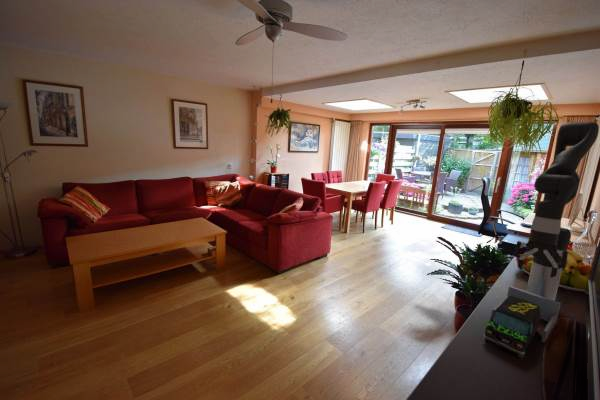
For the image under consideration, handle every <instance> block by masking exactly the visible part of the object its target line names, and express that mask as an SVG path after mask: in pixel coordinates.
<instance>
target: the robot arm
mask: <svg viewBox="0 0 600 400" xmlns="http://www.w3.org/2000/svg"><path fill="white" fill-rule="evenodd" d="M599 130H600V126H599V124H598V122H595V121H576V122H565V123H562V124H561V125H560V126H559V128H558V131H557V135H556V136H557V137H556V141H555V147H554V154H553V159H552V162H551V164H550V165H549V166H548V168H547V169H546V170H545V171H543V172H542V173H541V174H539V175H538V176H537V178H536V180H535V181H534V189H535V191H536V192H537V193H539V194H543V195H544V196H543V199H542V200H540V201H539V202H537V204H536V208H535V213H534V218H533V220H532V224H531V226H530V232H529V237H528V241H527V242H523V241H521V240H518V241H516V244H515V248H514V252H513V257H514V258H516V259H518V261H517V269H519V270H520V271H522V270H523V267H524V259H526V258H528V257H531V256H532V257H533V258H532V262H531V267H530V271H529V277H528V282H527V286H526V290H525V291H527V292H530V293H533V294H536V295H539V296H542V297H545V298H548V299H550V300H553V301H556V298H557V293H558V288H559V286H560V285H559V284H560V279H561V275H562V272H563V269H566V268H567V261H568V254H569V253H568V248H569V245H570V241H571V237H572V232H571V230H570V229H569V228H565V227H562V226H561V225H562V218H563V213H564V210H565V207H566V205H568V204H569V203H570V202H572V201H573V200H574V199H575V197H576V196H577V193H578V189H579V185H580V182H581V181H580V180H581V179H580V177H579V175H578V172H577V169H578V167H579V165H580V163H581V161H582V159H583V158H584V157H585V156H586V154H588V152H589V151H590V150H591V148H592V147H593V146H594V144H595V142H596V141H597V138H598V136H599V132H600V131H599ZM567 147H568V148H567ZM524 247H525V248H526V249H527V250H526V251H525V252H524V253H522V254H519V252H520V249H523V248H524Z"/></svg>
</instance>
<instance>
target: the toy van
mask: <svg viewBox="0 0 600 400" xmlns="http://www.w3.org/2000/svg"><path fill="white" fill-rule="evenodd" d="M540 321H541V318H540V307H539V305H536V304H534V303H531V302H529V301H526V300H523V299H520V298H517V297H514V296H509V297H508V298H507V299H505V300H504V302H503V303H502V304H501V305H500V306H499V307H498V309H497V310H496V311H495V313H494V315H493V316H492V318H491V317H490V320H489V322H488V323H487V324H486V327H485V330H484V331H485V332H484V334H483V338H484V340H485V342H490V341H491V342H493V344H496V345H497V346H500V347H502V348H504V349H506V350H508V351H511V352H513V353H516V354H517V356H518V357H519V358H521V359H524V358H525V357H526V351H527V348H528V347H529V345H530V344H531V342H532V341H533V338H534V337H535V335H536V333H537V330H538V328H539V327H540Z"/></svg>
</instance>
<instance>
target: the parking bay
mask: <svg viewBox="0 0 600 400" xmlns="http://www.w3.org/2000/svg"><path fill="white" fill-rule="evenodd" d="M509 296H514V297H517V298H520V299H523V300H526V301H529V302H531V303H534V304H536V305H539V307H540V320H541V319H542V320H544V321H545V322H546V321H547V322H548V323H547V324H546V326H545V328H544V329H543V332H542V337H541V340H540V341H541V342H542V343H545V342H546V341H547V339H548V337H549V336H550V334H551V332H552V331H551V329H552V327H553V326H554V327H555V325H556V324H557V320H558V316H559V312H560V309H561V304H562V303H561V302H559V301H556V300H555V301H553V300H550V299H548V298H545V297H542V296H539V295H536V294H533V293H530V292H527V291H526V290H524V289H520V288H518V287H515V286H512V285H509V286H508V290H507V294H506V296H505V297H504V298H503V299H501V301H499V302H498V303H497V304H496V305H495V306H494V307H493V308H492V310H491V314H490V319H491V318H492V316H493V315H494V313H495V311H496V310H497V309H498V307H499V306H500V305H501V304H502V303H503V302H504V300H505V299H507V298H508V297H509ZM555 323H556V324H555ZM554 324H555V325H554ZM554 327H553V328H554ZM552 330H553V329H552ZM550 331H551V332H550ZM549 333H550V334H549ZM548 335H549V336H548Z"/></svg>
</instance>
